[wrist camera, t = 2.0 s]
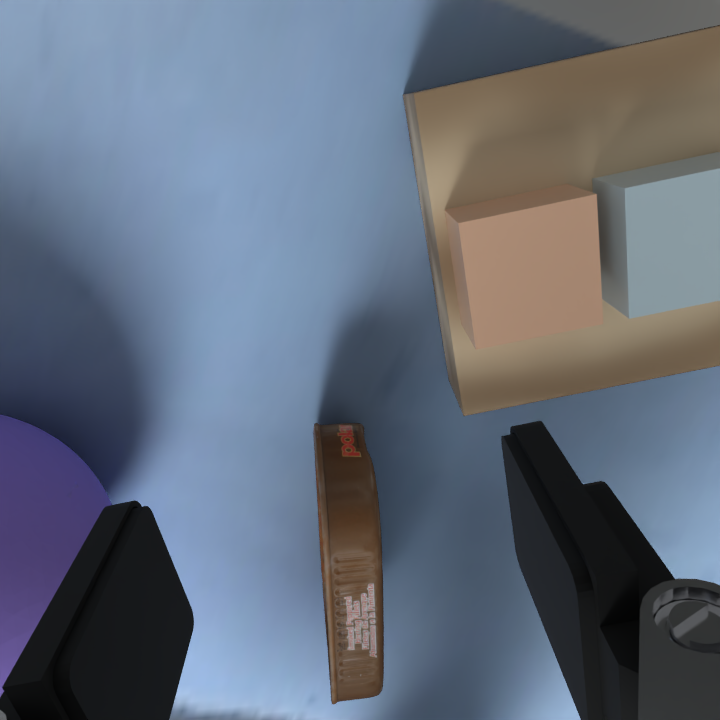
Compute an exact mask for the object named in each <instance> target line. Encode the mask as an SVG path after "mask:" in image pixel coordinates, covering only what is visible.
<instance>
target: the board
mask: <svg viewBox="0 0 720 720" xmlns="http://www.w3.org/2000/svg"><path fill="white" fill-rule="evenodd" d="M403 99H404V105H405V111H406V117H407V124H408V130H409V136H410V142H411V148H412V155H413V161H414V167H415V173H416V179H417V186H418V192H419V198H420V204H421V210H422V217H423V223H424V229H425V235H426V241H427V248H428V254H429V260H430V266H431V272H432V279H433V285H434V291H435V297H436V303H437V310H438V316H439V322H440V328H441V334H442V341H443V347H444V353H445V359H446V365H447V372H448V378H449V382H450V384H451V386H452V389H453V391H454V394H455V396H456V399H457V401H458V403H459V406H460V408H461V411H462V413H463V415H464V416H467V415H472V414H477V413H482V412H487V411H492V410H497V409H502V408H507V407H512V406H517V405H522V404H527V403H532V402H537V401H543V400H548V399H553V398H558V397H563V396H568V395H573V394H578V393H583V392H588V391H593V390H598V389H603V388H608V387H613V386H619V385H624V384H629V383H634V382H639V381H644V380H649V379H654V378H659V377H664V376H669V375H674V374H679V373H684V372H689V371H695V370H700V369H705V368H710V367H715V366H720V301H715V302H710V303H705V304H700V305H695V306H690V307H685V308H680V309H675V310H670V311H665V312H660V313H655V314H650V315H645V316H641V317H636V318H631V319H629V318H627V317H626V316H625V315H623V314H622V313H621V312H619V311H618V310H616V309H615V308H614V307H612V306H611V305H610V304H608V303H607V302H606V301H604V300H603V299H602V307H603V324H601V325H596V326H591V327H586V328H581V329H576V330H571V331H566V332H561V333H556V334H551V335H546V336H541V337H536V338H531V339H527V340H522V341H517V342H512V343H507V344H502V345H497V346H492V347H487V348H482V349H477V350H476V349H475V347H474V346H473V344H472V342H471V340H470V339H469V337H468V335H467V333H466V332H465V330H464V328H463V326H462V325H461V320H460V313H459V306H458V299H457V292H456V285H455V279H454V272H453V265H452V258H451V251H450V245H449V238H448V231H447V224H446V217H445V211H444V210H446V209H451V208H456V207H460V206H465V205H470V204H474V203H479V202H484V201H489V200H493V199H498V198H503V197H508V196H512V195H517V194H522V193H526V192H531V191H536V190H541V189H545V188H550V187H555V186H560V185H564V184H569V185H572V186H575V187H578V188H581V189H583V190H586V191H589V192H592V193H593V184H592V179H593V178H597V177H602V176H607V175H611V174H616V173H621V172H626V171H630V170H635V169H640V168H645V167H649V166H654V165H659V164H663V163H668V162H673V161H678V160H682V159H687V158H692V157H697V156H701V155H706V154H711V153H715V152H720V25H718V26H713V27H708V28H704V29H699V30H695V31H690V32H686V33H681V34H677V35H672V36H667V37H663V38H659V39H654V40H650V41H645V42H640V43H636V44H631V45H627V46H622V47H617V48H613V49H608V50H604V51H599V52H595V53H590V54H586V55H581V56H577V57H572V58H567V59H563V60H558V61H554V62H549V63H545V64H540V65H536V66H531V67H527V68H522V69H518V70H513V71H508V72H504V73H499V74H495V75H490V76H486V77H481V78H477V79H472V80H468V81H463V82H458V83H454V84H449V85H445V86H440V87H436V88H431V89H427V90H422V91H418V92H413V93H408V94H404V95H403Z"/></svg>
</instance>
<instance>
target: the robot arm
mask: <svg viewBox="0 0 720 720" xmlns="http://www.w3.org/2000/svg"><path fill="white" fill-rule="evenodd" d="M510 434H511V435H506V436H502V438H501V441H502V450H503V458H504V465H505V473H506V480H507V488H508V496H509V503H510V511H511V519H512V526H513V534H514V542H515V549H516V554H517V558H518V562H519V565H520V568H521V571H522V573H523V576H524V578H525V581H526V583H527V586H528V588H529V591H530V593H531V596H532V598H533V601H534V603H535V606H536V608H537V611H538V613H539V616H540V618H541V621H542V623H543V626H544V628H545V631H546V633H547V636H548V638H549V641H550V643H551V646H552V648H553V651H554V653H555V656H556V658H557V661H558V663H559V666H560V668H561V671H562V673H563V676H564V678H565V681H566V683H567V686H568V688H569V691H570V693H571V696H572V698H573V701H574V703H575V706H576V708H577V711H578V713H579V716H580V718H581V720H720V585H717V584H715V583H712V582H707V581H703V580H698V579H675V578H674V577H673V576H672V574H671V573H670V571H669V570H668V569H667V567H666V566H665V564H664V563H663V562H662V560H661V559H660V557H659V556H658V555H657V553H656V552H655V550H654V549H653V548H652V546H651V545H650V543H649V542H648V541H647V539H646V538H645V536H644V535H643V534H642V532H641V531H640V529H639V528H638V527H637V525H636V524H635V522H634V521H633V520H632V518H631V517H630V515H629V514H628V513H627V511H626V510H625V508H624V507H623V506H622V504H621V503H620V501H619V500H618V499H617V497H616V496H615V494H614V493H613V492H612V490H611V489H610V487H609V486H608V485H607V484H606V483H605V482H602V481H599V482H594V483H589V484H582V483H581V481H580V480H579V478H578V476H577V475H576V473H575V472H574V470H573V469H572V467H571V466H570V464H569V463H568V461H567V460H566V458H565V456H564V455H563V453H562V452H561V450H560V449H559V447H558V446H557V444H556V443H555V441H554V440H553V438H552V436H551V435H550V433H549V432H548V430H547V429H546V427H545V426H544V424H543V423H542V422H541V421H537V422H532V423H527V424H522V425H517V426H512V427H511V430H510ZM193 626H194V618H193V612H192V609H191V606H190V604H189V601H188V599H187V596H186V594H185V591H184V589H183V586H182V584H181V582H180V579H179V577H178V574H177V572H176V569H175V567H174V564H173V562H172V559H171V557H170V555H169V552H168V550H167V547H166V545H165V542H164V540H163V537H162V535H161V533H160V530H159V528H158V525H157V523H156V520H155V518H154V515H153V513H152V511H151V509H150V508H149V507H148V506H144V507H142V506H141V504H140V503H139V502H138V501H130V502H125V503H120V504H115V505H110V506H106V507H105V508H104V509H103V510H102V512H101V513H100V515H99V517H98V519H97V521H96V522H95V524H94V526H93V528H92V529H91V531H90V533H89V535H88V536H87V538H86V540H85V542H84V543H83V545H82V547H81V549H80V551H79V552H78V554H77V556H76V558H75V559H74V561H73V563H72V565H71V566H70V568H69V570H68V572H67V573H66V575H65V577H64V579H63V581H62V582H61V584H60V586H59V588H58V589H57V591H56V593H55V595H54V596H53V598H52V600H51V602H50V603H49V605H48V607H47V609H46V611H45V612H44V614H43V616H42V618H41V619H40V621H39V623H38V625H37V626H36V628H35V630H34V632H33V633H32V635H31V637H30V639H29V641H28V642H27V644H26V646H25V648H24V649H23V651H22V653H21V655H20V656H19V658H18V660H17V662H16V663H15V665H14V667H13V669H12V671H11V672H10V674H9V676H8V678H7V679H6V681H5V683H4V685H3V686H2V689H3V690H4V692H3V693H2V695H1V697H0V720H169V718H170V714H171V711H172V707H173V703H174V699H175V696H176V692H177V688H178V684H179V681H180V677H181V673H182V669H183V666H184V662H185V658H186V654H187V651H188V647H189V643H190V639H191V636H192V632H193Z"/></svg>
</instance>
